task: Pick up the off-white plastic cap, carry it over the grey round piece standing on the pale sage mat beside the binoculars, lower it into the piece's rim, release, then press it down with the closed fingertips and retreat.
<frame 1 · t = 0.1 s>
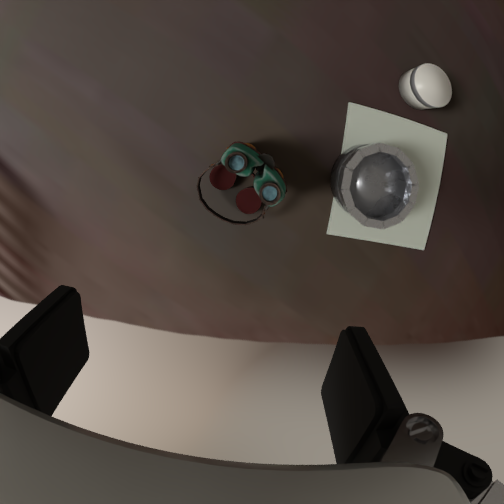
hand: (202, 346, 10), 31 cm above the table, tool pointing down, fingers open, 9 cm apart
cap: (416, 90, 34), on the table
binoculars: (243, 182, 39), on the table
grey round piece: (366, 181, 38), resting on mat
mat: (392, 179, 38), on the table
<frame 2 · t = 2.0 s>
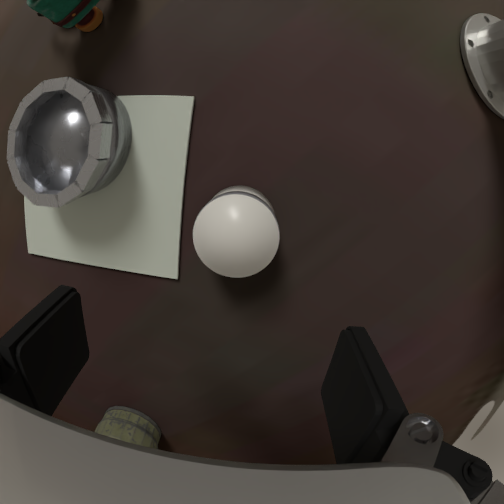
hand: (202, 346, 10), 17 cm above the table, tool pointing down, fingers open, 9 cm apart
cap: (239, 220, 26), on the table
grey round piece: (84, 140, 23), resting on mat
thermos: (133, 425, 36), on the table
mat: (92, 183, 25), on the table
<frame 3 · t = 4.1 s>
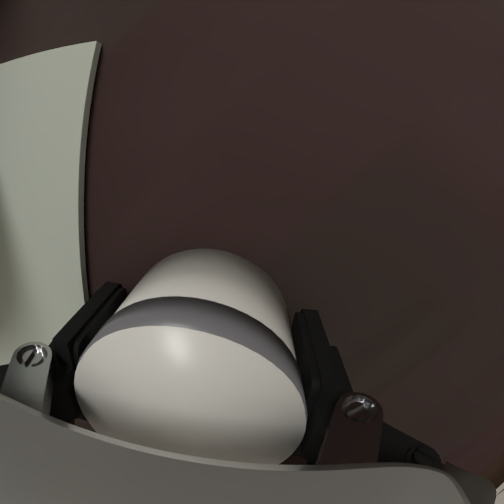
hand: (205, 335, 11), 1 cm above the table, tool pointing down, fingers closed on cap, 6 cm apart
cap: (208, 324, 11), on the table, touching gripper
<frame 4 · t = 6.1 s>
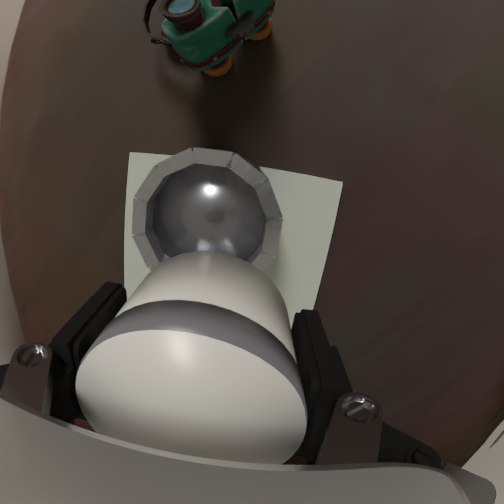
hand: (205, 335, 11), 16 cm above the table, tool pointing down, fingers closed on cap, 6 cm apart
cap: (208, 326, 11), point 15 cm above the table, touching gripper
binoculars: (210, 26, 20), on the table
grey round piece: (215, 209, 25), resting on mat
mat: (221, 255, 27), on the table
when the fingers open (7 cm above the table, at t = 8.4 s): cap drops 2 cm, resting on grey round piece.
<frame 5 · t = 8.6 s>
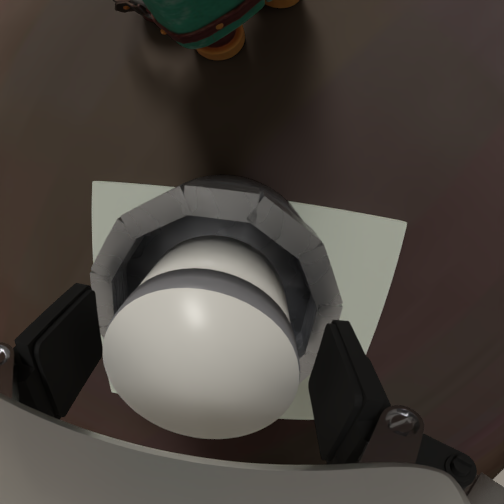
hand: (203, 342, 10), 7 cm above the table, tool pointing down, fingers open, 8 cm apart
cap: (215, 302, 13), point 4 cm above the table, touching grey round piece
grey round piece: (223, 266, 17), resting on mat
mat: (233, 326, 19), on the table
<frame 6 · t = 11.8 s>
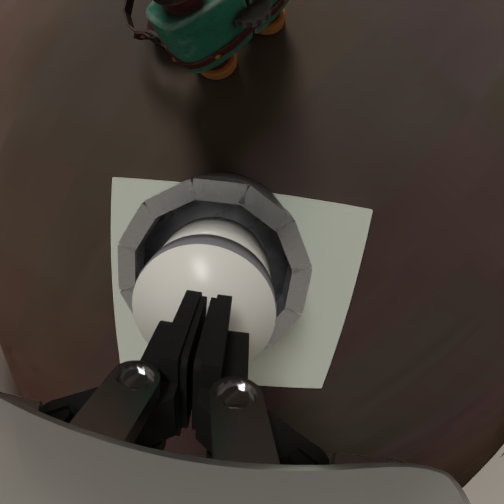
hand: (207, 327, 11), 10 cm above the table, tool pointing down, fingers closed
cap: (214, 270, 17), point 4 cm above the table, touching grey round piece
binoculars: (207, 18, 16), on the table
grey round piece: (220, 246, 21), resting on mat
mat: (229, 298, 22), on the table
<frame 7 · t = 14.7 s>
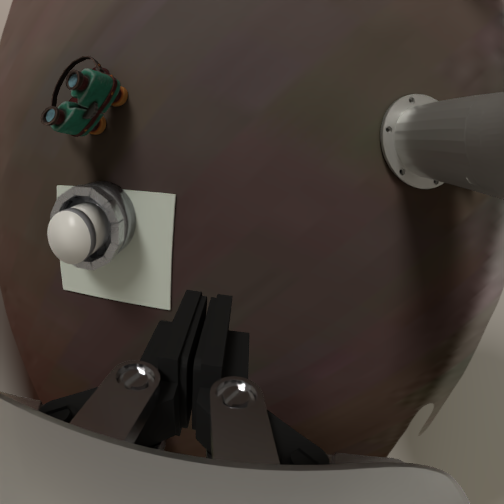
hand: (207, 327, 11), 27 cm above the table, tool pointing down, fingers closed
cap: (88, 226, 33), point 4 cm above the table, touching grey round piece
binoculars: (94, 98, 32), on the table
grey round piece: (102, 218, 37), resting on mat
mat: (110, 246, 39), on the table
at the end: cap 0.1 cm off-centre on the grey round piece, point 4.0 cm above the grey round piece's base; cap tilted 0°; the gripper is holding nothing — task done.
